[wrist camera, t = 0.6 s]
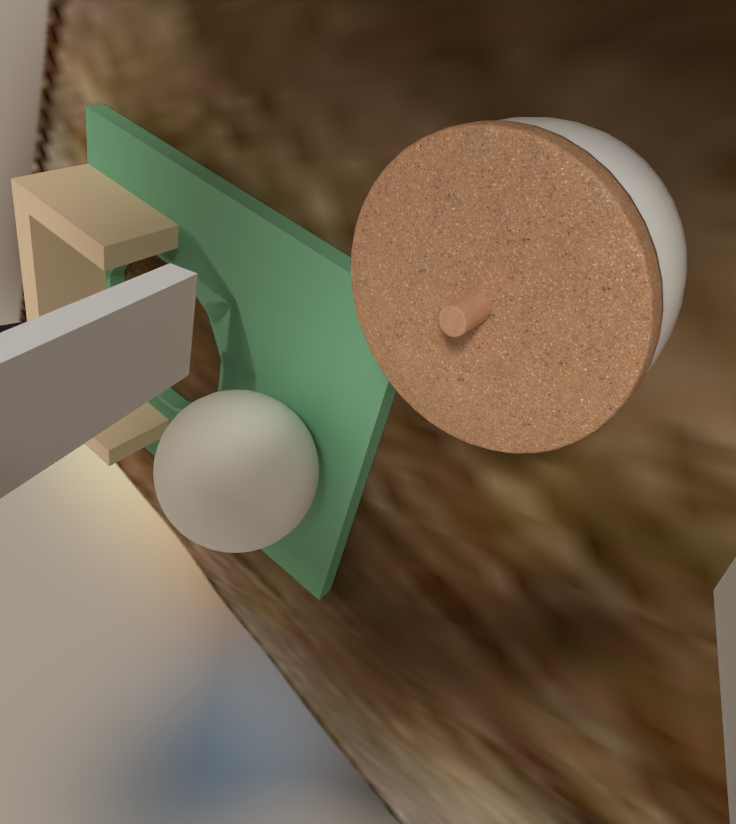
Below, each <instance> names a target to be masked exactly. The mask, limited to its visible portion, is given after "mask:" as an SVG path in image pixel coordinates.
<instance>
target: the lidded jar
mask: <svg viewBox="0 0 736 824" xmlns="http://www.w3.org/2000/svg"><path fill="white" fill-rule="evenodd" d="M686 276H687V247H686V242H685V237H684V231H683V226H682V222H681V220H680V217H679V214H678V212H677V209H676V206H675V203H674V201H673V199H672V197H671V196H670V194H669V192H668V190H667V189H666V187H665V185H664V183H663V182H662V180H661V179H660V178H659V176H658V175H657V174H656V173H655V171H654V170H653V169H652V168H651V167H650V165H649V164H648V163H647V162H646V161H645V160H644V159H643V158H642V157H641V156H639V155H638V154H637V153H636V152H635V151H634V150H633V149H631V148H630V147H629V146H628V145H626V144H625V143H623V142H621V141H620V140H618V139H616V138H615V137H613V136H611V135H610V134H608V133H606V132H603V131H600V130H598V129H595V128H592V127H590V126H587V125H584V124H581V123H578V122H574V121H569V120H563V119H558V118H551V117H513V118H507V119H501V120H483V121H476V122H471V123H466V124H460V125H455V126H451V127H447V128H444V129H442V130H439V131H437V132H434V133H432V134H429V135H427V136H424V137H422V138H421V139H419V140H418V141H416V142H415V143H413V144H411V145H410V146H408V147H407V148H405V149H404V150H403V151H402V152H400V153H399V154H398V155H397V156H396V157H395V158H394V159H393V160H392V161H391V162H390V163H389V164H388V165H387V166H386V167H385V169H384V170H383V171H382V173H381V174H380V175H379V177H378V178H377V179H376V181H375V182H374V183H373V185H372V187H371V189H370V191H369V193H368V195H367V197H366V199H365V201H364V203H363V205H362V208H361V211H360V214H359V217H358V220H357V223H356V227H355V232H354V238H353V245H352V254H351V282H352V292H353V298H354V303H355V308H356V313H357V317H358V320H359V323H360V326H361V329H362V332H363V335H364V337H365V339H366V342H367V344H368V346H369V348H370V351H371V353H372V355H373V357H374V359H375V360H376V362H377V364H378V365H379V367H380V368H381V370H382V372H383V373H384V375H385V376H386V378H387V379H388V380H389V382H390V383H391V384H392V386H393V387H394V388H395V390H396V391H397V392H398V393H399V394H400V395H401V396H402V397H403V398H404V399H405V400H406V402H407V403H408V404H409V405H410V406H411V407H412V408H413V409H415V410H416V411H417V412H418V413H419V414H421V415H422V416H423V417H424V418H425V419H427V420H428V421H429V422H430V423H432V424H433V425H435V426H437V427H438V428H440V429H441V430H443V431H445V432H446V433H448V434H450V435H452V436H454V437H456V438H458V439H460V440H462V441H464V442H467V443H469V444H472V445H475V446H479V447H482V448H486V449H489V450H493V451H500V452H506V453H513V454H526V453H541V452H546V451H552V450H557V449H560V448H563V447H566V446H569V445H571V444H574V443H577V442H579V441H581V440H582V439H584V438H586V437H588V436H589V435H591V434H593V433H595V432H596V431H598V430H599V429H600V428H601V427H602V426H604V425H605V424H606V423H607V422H608V421H609V420H611V419H612V418H613V417H614V416H615V415H616V414H617V413H618V412H619V411H620V410H621V409H622V407H623V406H624V405H625V404H626V402H627V401H628V400H629V399H630V397H631V396H632V395H633V394H634V392H635V391H636V390H637V389H638V387H639V385H640V384H641V382H642V380H643V378H644V376H645V374H646V373H647V372H648V371H649V369H650V368H651V367H652V366H653V364H654V363H655V362H656V360H657V359H658V357H659V355H660V353H661V351H662V350H663V348H664V346H665V344H666V342H667V340H668V338H669V336H670V334H671V332H672V330H673V328H674V326H675V323H676V320H677V317H678V314H679V311H680V308H681V305H682V300H683V295H684V289H685V282H686Z"/></svg>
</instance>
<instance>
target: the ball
mask: <svg viewBox="0 0 736 824" xmlns="http://www.w3.org/2000/svg"><path fill="white" fill-rule="evenodd" d="M153 478H154V486H155V491H156V495H157V498H158V501H159V503H160V505H161V508H162V510H163V511H164V513H165V515H166V516H167V518H168V519H169V521H170V522H171V523H172V524H173V525H174V527H175V528H176V529H177V530H178V531H179V532H180V533H182V534H183V535H184V536H185V537H187V538H188V539H190V540H191V541H193V542H195V543H196V544H198V545H201V546H203V547H206V548H208V549H211V550H215V551H220V552H227V553H242V552H250V551H254V550H258V549H261V548H264V547H267V546H269V545H271V544H274V543H275V542H277V541H279V540H280V539H282V538H283V537H285V536H286V535H288V534H289V533H290V532H291V531H292V530H293V529H294V528H295V527H296V526H297V525H298V524H299V523H300V521H301V520H302V519H303V518H304V516H305V514H306V513H307V511H308V509H309V508H310V506H311V504H312V501H313V499H314V496H315V493H316V489H317V484H318V479H319V461H318V455H317V451H316V447H315V444H314V441H313V438H312V436H311V434H310V432H309V430H308V429H307V427H306V425H305V424H304V423H303V421H302V420H301V419H300V418H299V416H298V415H297V414H296V413H295V412H294V411H292V410H291V409H290V408H289V407H288V406H286V405H285V404H284V403H282V402H281V401H279V400H277V399H275V398H273V397H271V396H268V395H266V394H263V393H259V392H255V391H250V390H236V389H235V390H225V391H220V392H216V393H212V394H209V395H207V396H204V397H202V398H200V399H198V400H196V401H194V402H193V403H191V404H189V405H188V406H187V407H185V408H184V409H183V410H182V411H181V412H180V413H178V414H177V416H176V417H175V418H174V419H173V420H172V421H171V423H170V424H169V425H168V427H167V428H166V430H165V431H164V433H163V435H162V437H161V439H160V442H159V444H158V447H157V451H156V455H155V459H154V469H153Z"/></svg>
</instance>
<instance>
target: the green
mask: <svg viewBox="0 0 736 824" xmlns="http://www.w3.org/2000/svg"><path fill="white" fill-rule="evenodd" d="M85 108H86V134H87V159H88V164H84V165H78V166H73V167H68V168H63V169H58V170H52V171H47V172H42V173H37V174H32V175H27V176H21V177H16V178H12V179H11V183H12V192H13V201H14V210H15V218H16V227H17V236H18V244H19V253H20V262H21V271H22V280H23V288H24V297H25V306H26V315H27V322H28V321H30V320H32V319H35V318H37V317H40V316H42V315H45V314H47V313H50V312H52V311H54V310H57V309H59V308H62V307H64V306H67V305H69V304H72V303H74V302H76V301H79V300H81V299H84V298H86V297H89V296H91V295H93V294H96V293H98V292H101V291H103V290H106V289H108V288H111V287H113V286H115V285H118V284H120V283H123V282H125V270H126V268H127V266H128V265H129V263H132V262H135V261H139V260H142V259H145V258H148V257H151V256H154V255H156V256H158V257H159V258H160V259H162V260H163V261H165V262H166V263H167V264H169V263H171V264H173V265H176V266H179V267H181V268H184V269H187V270H190V271H192V272H195V273H198V276H197V287H196V297H197V298H198V300H199V301H200V303H201V304H202V306H203V307H204V309H205V310H206V312H207V313H208V316H209V319H210V323H211V326H212V330H213V333H214V337H215V340H216V344H217V347H218V351H219V354H220V358H221V367H220V376H219V385H218V392H220V391H225V390H235V389H236V390H250V391H255V392H259V393H263V394H266V395H268V396H271V397H273V398H275V399H277V400H279V401H281V402H282V403H284V404H285V405H286V406H288V407H289V408H290V409H291V410H292V411H294V412H295V413H296V414H297V415H298V416H299V418H300V419H301V420H302V421H303V423H304V424H305V425H306V427H307V429H308V430H309V432H310V434H311V436H312V438H313V441H314V444H315V447H316V451H317V455H318V461H319V479H318V484H317V489H316V493H315V496H314V499H313V501H312V504H311V506H310V508H309V509H308V511H307V513H306V514H305V516H304V518H303V519H302V520H301V521H300V523H299V524H298V525H297V526H296V527H295V528H294V529H293V530H292V531H291V532H290V533H289V534H288V535H286V536H285V537H283V538H282V539H280V540H279V541H277V542H275V543H274V544H271V545H269V546H267V547H264V548H261V550H262V551H263V552H264V553H266V554H267V555H268V556H269V557H270V558H271V559H272V560H274V561H275V562H276V563H277V564H278V565H279V566H280V567H282V568H283V569H284V570H285V571H286V572H287V573H288V574H290V575H291V576H292V577H293V578H294V579H295V580H296V581H298V582H299V583H300V584H301V585H302V586H303V587H305V588H306V589H307V590H308V591H309V592H310V593H311V594H313V595H314V596H315V597H316V598H317V599H318V600H320V599H321V598H322V597H323V596H324V595H326V594H327V593H328V592H329V591H330V590H331V587H332V584H333V581H334V578H335V575H336V572H337V569H338V566H339V563H340V560H341V557H342V554H343V551H344V548H345V545H346V542H347V539H348V536H349V532H350V529H351V526H352V523H353V520H354V517H355V514H356V511H357V508H358V505H359V502H360V499H361V496H362V493H363V490H364V487H365V484H366V481H367V478H368V475H369V472H370V469H371V466H372V463H373V460H374V457H375V454H376V451H377V448H378V445H379V442H380V439H381V436H382V433H383V430H384V427H385V424H386V421H387V418H388V415H389V412H390V408H391V405H392V402H393V399H394V396H395V393H396V390H395V388H394V387H393V386H392V384H391V383H390V382H389V380H388V379H387V378H386V376H385V375H384V373H383V372H382V370H381V368H380V367H379V365H378V364H377V362H376V360H375V359H374V357H373V355H372V353H371V351H370V348H369V346H368V344H367V342H366V339H365V337H364V335H363V332H362V329H361V326H360V323H359V320H358V317H357V313H356V308H355V303H354V298H353V292H352V282H351V257H349V256H348V255H346V254H344V253H343V252H341V251H340V250H338V249H336V248H335V247H333V246H331V245H330V244H328V243H327V242H325V241H323V240H322V239H320V238H319V237H317V236H315V235H314V234H312V233H311V232H309V231H307V230H306V229H304V228H302V227H301V226H299V225H298V224H296V223H294V222H293V221H291V220H290V219H288V218H286V217H285V216H283V215H282V214H280V213H278V212H277V211H275V210H273V209H272V208H270V207H269V206H267V205H265V204H264V203H262V202H261V201H259V200H257V199H256V198H254V197H253V196H251V195H249V194H248V193H246V192H244V191H243V190H241V189H240V188H238V187H236V186H235V185H233V184H232V183H230V182H228V181H227V180H225V179H224V178H222V177H220V176H219V175H217V174H215V173H214V172H212V171H211V170H209V169H207V168H206V167H204V166H203V165H201V164H199V163H198V162H196V161H195V160H193V159H191V158H190V157H188V156H186V155H185V154H183V153H182V152H180V151H178V150H177V149H175V148H174V147H172V146H170V145H169V144H167V143H165V142H164V141H162V140H161V139H159V138H157V137H156V136H154V135H153V134H151V133H149V132H148V131H146V130H145V129H143V128H141V127H140V126H138V125H136V124H135V123H133V122H132V121H130V120H128V119H127V118H125V117H124V116H122V115H120V114H119V113H117V112H116V111H114V110H112V109H111V108H109V107H107V106H106V105H104V104H98V105H90V106H85ZM191 403H193V402H192V401H187V400H185V399H184V398H183V397H182V396H180V395H179V394H178V393H177V392H176V391H174V390H173V389H172V388H171V387H170V388H168V389H167V390H165V391H164V392H162V393H161V394H159V395H157V396H156V397H154V398H153V399H151V400H150V401H148V402H147V403H145V404H144V405H142V406H141V407H139V408H138V409H136V410H135V411H133V412H132V413H130V414H128V415H127V416H125V417H124V418H122V419H121V420H119V421H118V422H116V423H115V424H113V425H112V426H110V427H109V428H107V429H106V430H104V431H103V432H101V433H99V434H98V435H96V436H95V437H93V438H92V439H90V440H89V441H87V442H86V443H85V444H86V445H87V446H88V447H89V448H90V449H91V450H92V451H93V452H94V453H96V454H97V455H98V456H99V457H100V458H101V459H102V460H103V461H104V462H106V463H107V464H108V465H109V466H110V465H112V464H114V463H116V462H118V461H120V460H121V459H123V458H125V457H127V456H129V455H131V454H133V453H134V452H136V451H138V450H140V449H142V448H145V449H146V450H148V451H149V452H150V453H151V454H152V455H153V456H154V457H155V455H156V451H157V447H158V444H159V442H160V439H161V437H162V435H163V433H164V431H165V430H166V428H167V427H168V425H169V424H170V423H171V421H172V420H173V419H174V418H175V417H176V416H177V414H178V413H180V412H181V411H182V410H183V409H184V408H185V407H187V406H188V405H189V404H191Z"/></svg>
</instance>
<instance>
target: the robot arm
mask: <svg viewBox="0 0 736 824" xmlns="http://www.w3.org/2000/svg"><path fill="white" fill-rule="evenodd" d="M197 276H198V273H195V272H192V271H190V270H187V269H184V268H181V267H179V266H176V265H173V264H171V263H169V264H167V265H164V266H162V267H159V268H157V269H155V270H152V271H150V272H147V273H145V274H142V275H140V276H137V277H135V278H133V279H130V280H128V281H125V282H123V283H120V284H118V285H115V286H113V287H111V288H108V289H106V290H103V291H101V292H98V293H96V294H93V295H91V296H89V297H86V298H84V299H81V300H79V301H76V302H74V303H72V304H69V305H67V306H64V307H62V308H59V309H57V310H54V311H52V312H50V313H47V314H45V315H42V316H40V317H37V318H35V319H32V320H30V321H28V322H20V323H14V324H8V325H2V326H0V498H2V497H3V496H5V495H6V494H8V493H9V492H11V491H12V490H14V489H15V488H17V487H18V486H20V485H22V484H23V483H25V482H26V481H28V480H29V479H31V478H32V477H34V476H35V475H37V474H38V473H40V472H41V471H43V470H45V469H46V468H48V467H49V466H51V465H52V464H54V463H55V462H57V461H58V460H60V459H61V458H63V457H64V456H66V455H67V454H69V453H70V452H72V451H73V450H75V449H76V448H78V447H80V446H81V445H83V444H84V443H86V442H87V441H89V440H90V439H92V438H93V437H95V436H96V435H98V434H99V433H101V432H103V431H104V430H106V429H107V428H109V427H110V426H112V425H113V424H115V423H116V422H118V421H119V420H121V419H122V418H124V417H125V416H127V415H128V414H130V413H132V412H133V411H135V410H136V409H138V408H139V407H141V406H142V405H144V404H145V403H147V402H148V401H150V400H151V399H153V398H154V397H156V396H157V395H159V394H161V393H162V392H164V391H165V390H167V389H168V388H170V387H171V386H173V385H174V384H176V383H177V382H179V381H180V380H182V379H183V378H185V377H186V376H188V375H189V367H190V355H191V344H192V332H193V321H194V310H195V298H196V287H197ZM714 605H715V619H716V633H717V647H718V661H719V675H720V689H721V703H722V717H723V732H724V746H725V760H726V774H727V788H728V802H729V816H730V824H736V557H735V559H734V560H733V562H732V563H731V565H730V566H729V568H728V570H727V571H726V573H725V574H724V576H723V577H722V579H721V580H720V582H719V583H718V585H717V586H716V588H715V589H714Z"/></svg>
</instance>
